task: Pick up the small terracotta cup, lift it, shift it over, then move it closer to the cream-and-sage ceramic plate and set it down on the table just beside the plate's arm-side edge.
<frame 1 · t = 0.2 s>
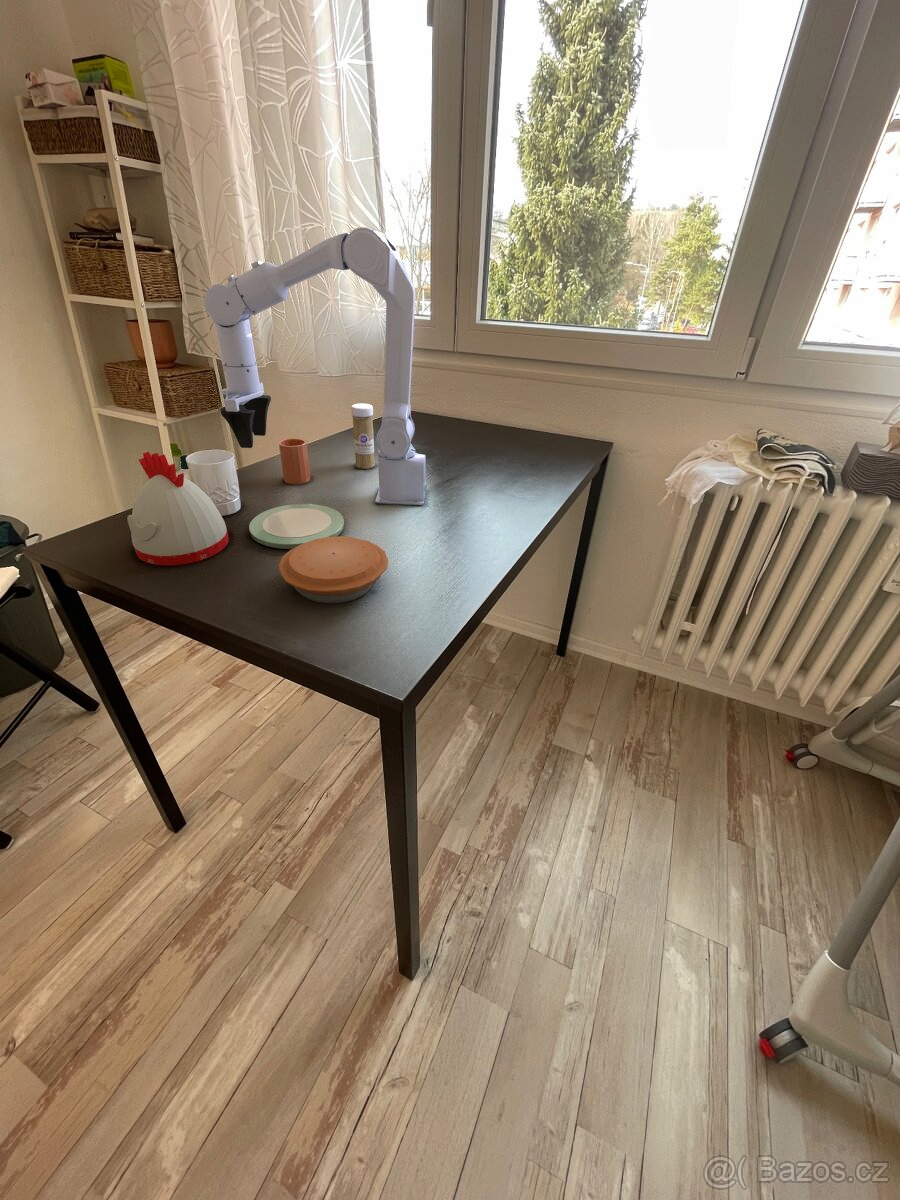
hand: (253, 441, 98), 10 cm above the table, tool pointing down, fingers open, 7 cm apart
white cup: (222, 510, 95), on the table
cup: (297, 479, 109), on the table
sprinkles bottle: (365, 466, 117), on the table
kitchen timer: (184, 545, 84), on the table
pie: (336, 583, 76), on the table
plate: (298, 529, 90), on the table
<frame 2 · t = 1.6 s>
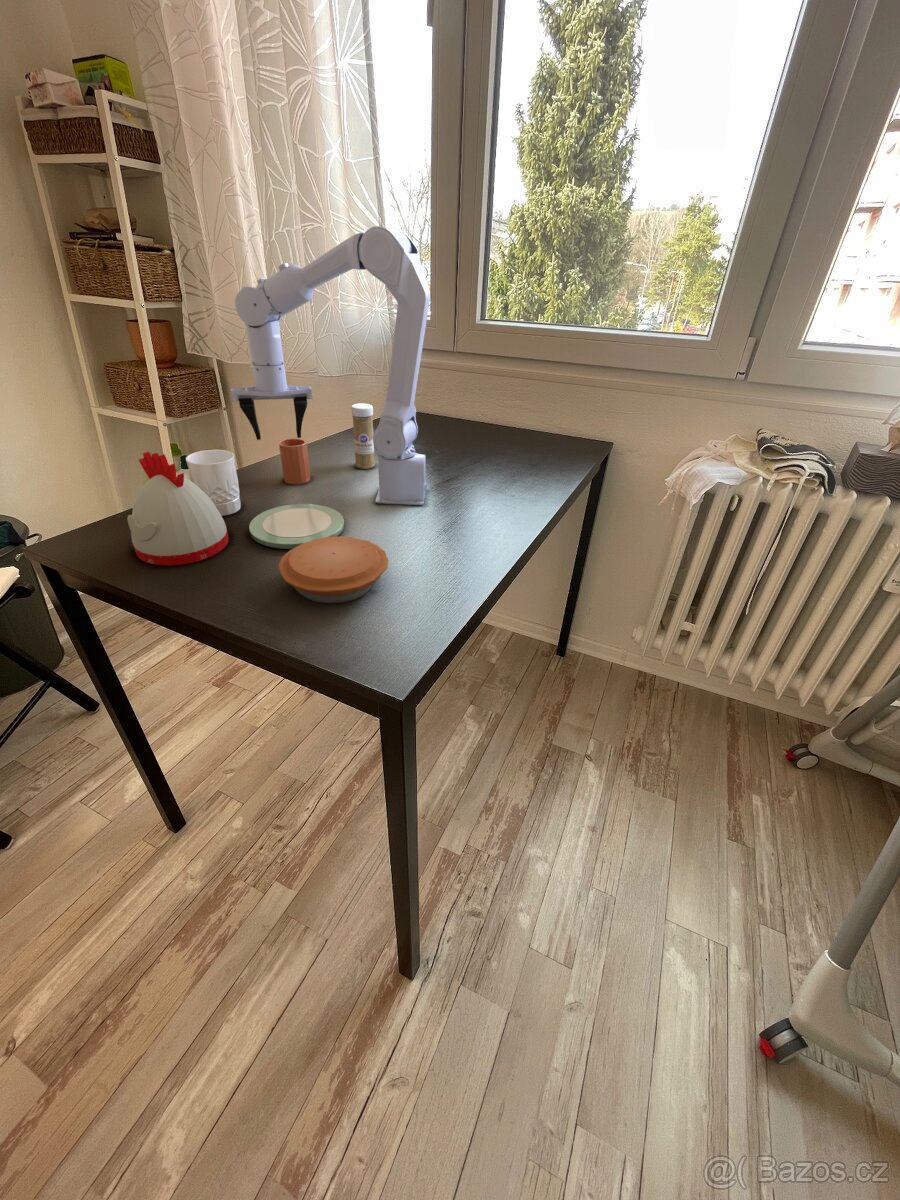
hand: (279, 437, 101), 10 cm above the table, tool pointing down, fingers open, 7 cm apart
nothing on the table moved.
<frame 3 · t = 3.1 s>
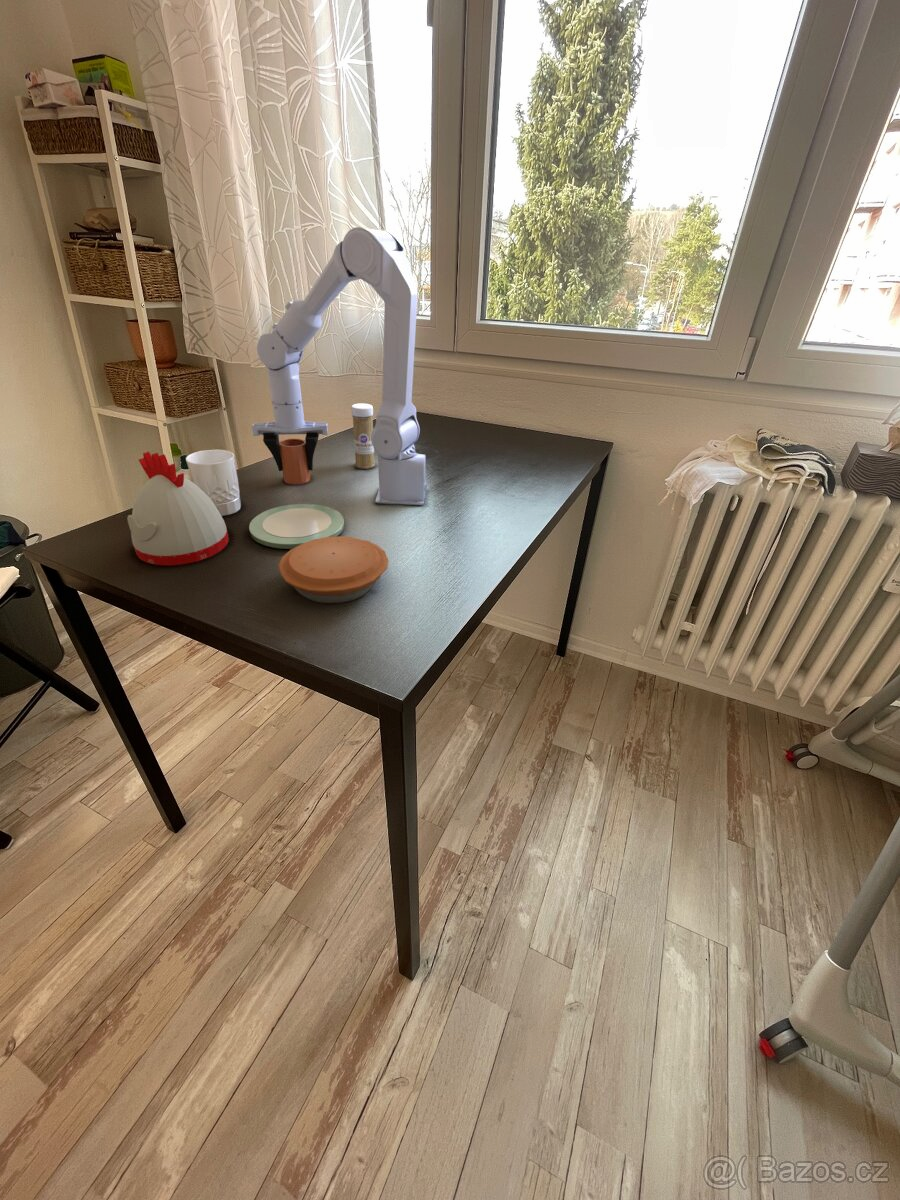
hand: (296, 468, 107), 2 cm above the table, tool pointing down, fingers closed on cup, 5 cm apart
cup: (297, 479, 109), on the table, touching gripper
everything else where it was.
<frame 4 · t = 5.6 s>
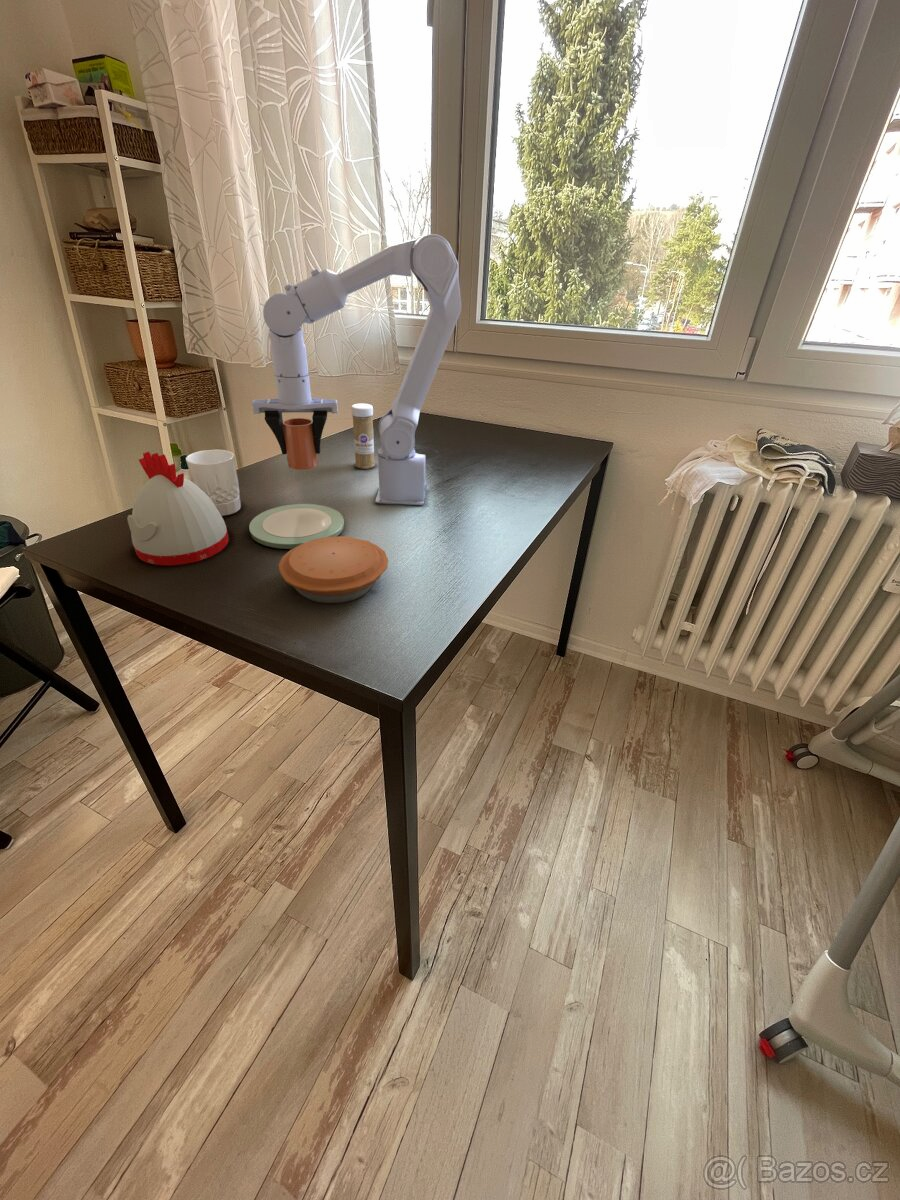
hand: (301, 452, 95), 9 cm above the table, tool pointing down, fingers closed on cup, 5 cm apart
cup: (303, 464, 97), point 7 cm above the table, touching gripper
everything else where it was.
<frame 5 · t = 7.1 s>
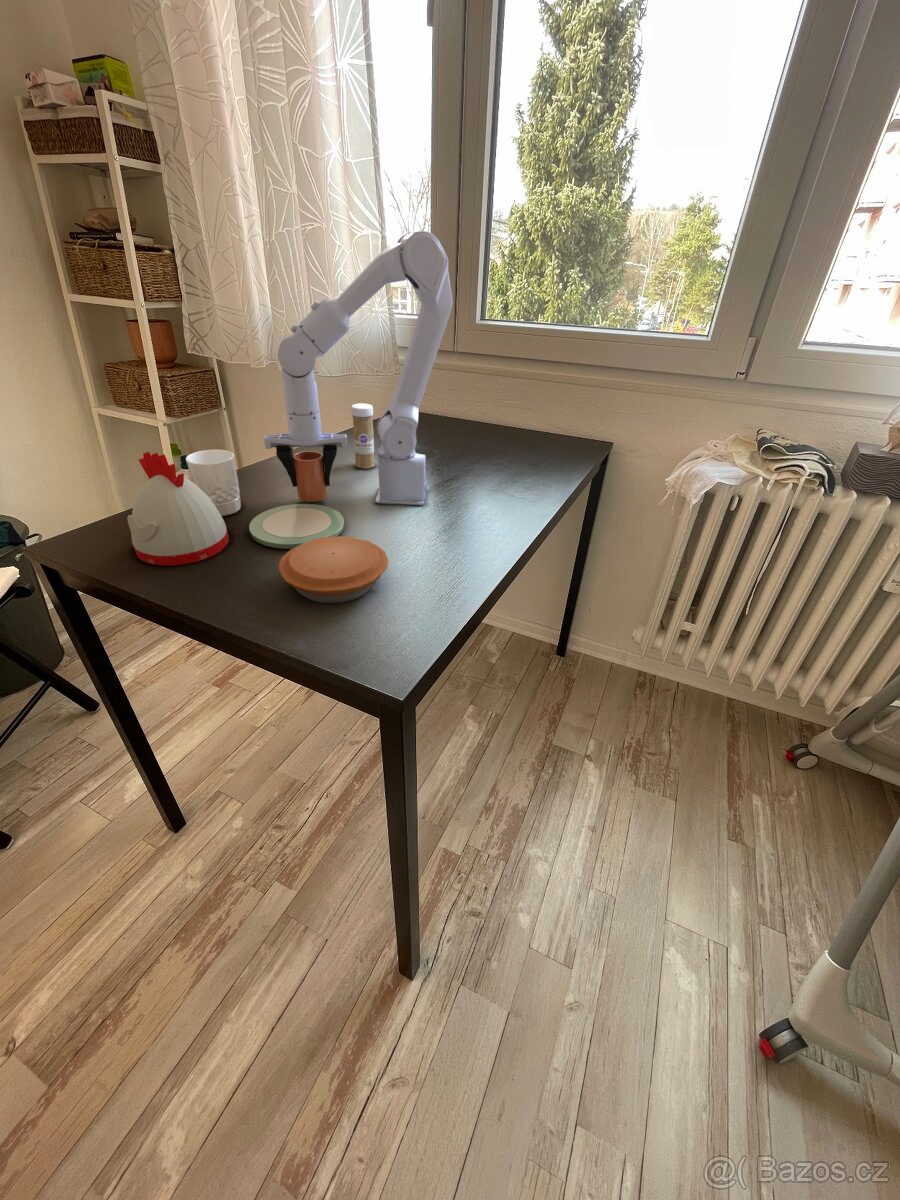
hand: (311, 484, 98), 4 cm above the table, tool pointing down, fingers closed on cup, 5 cm apart
cup: (312, 496, 99), point 1 cm above the table, touching gripper
everything else where it was.
when the fingers open (2 cm above the table, at t = 8.0 s): cup stays where it is, on the table.
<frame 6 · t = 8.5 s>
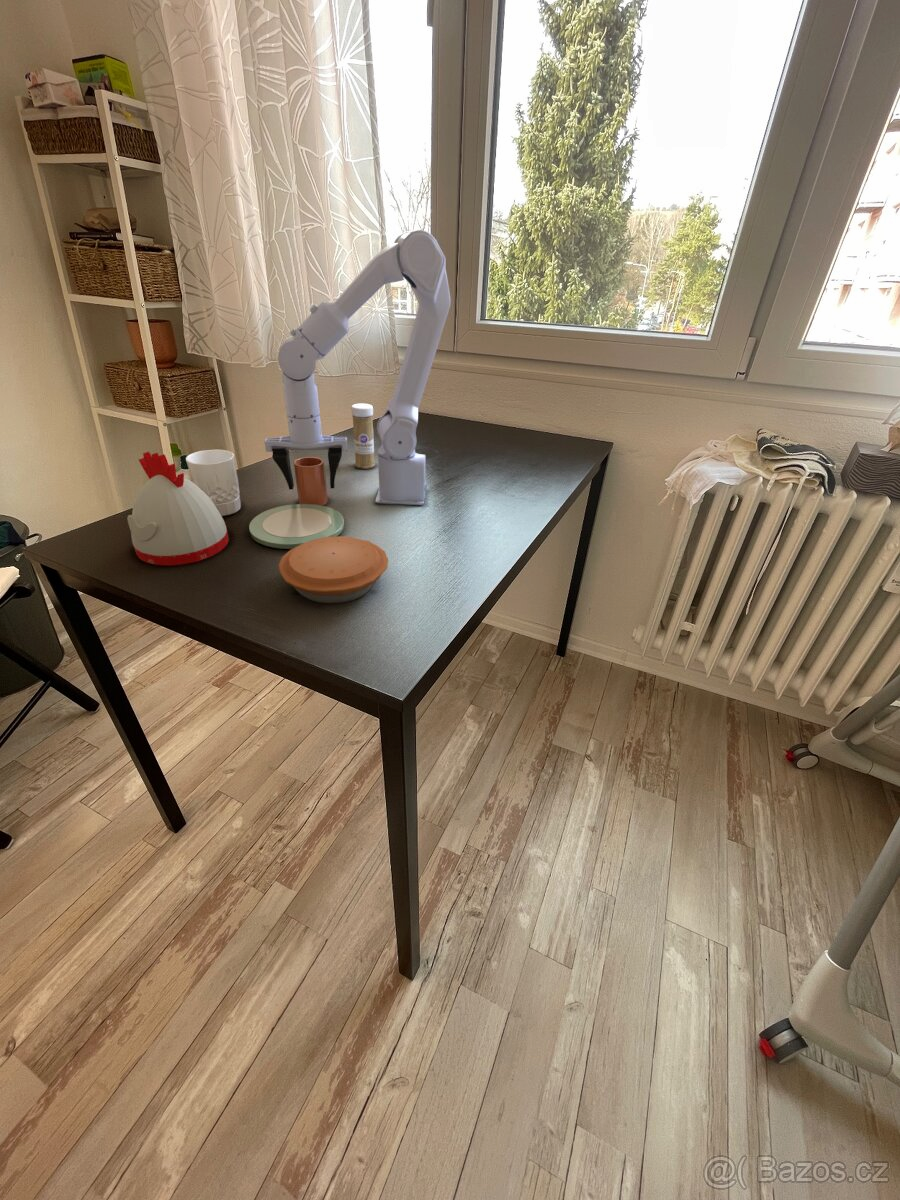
hand: (312, 487, 98), 3 cm above the table, tool pointing down, fingers open, 7 cm apart
cup: (313, 501, 100), on the table
everything else where it was.
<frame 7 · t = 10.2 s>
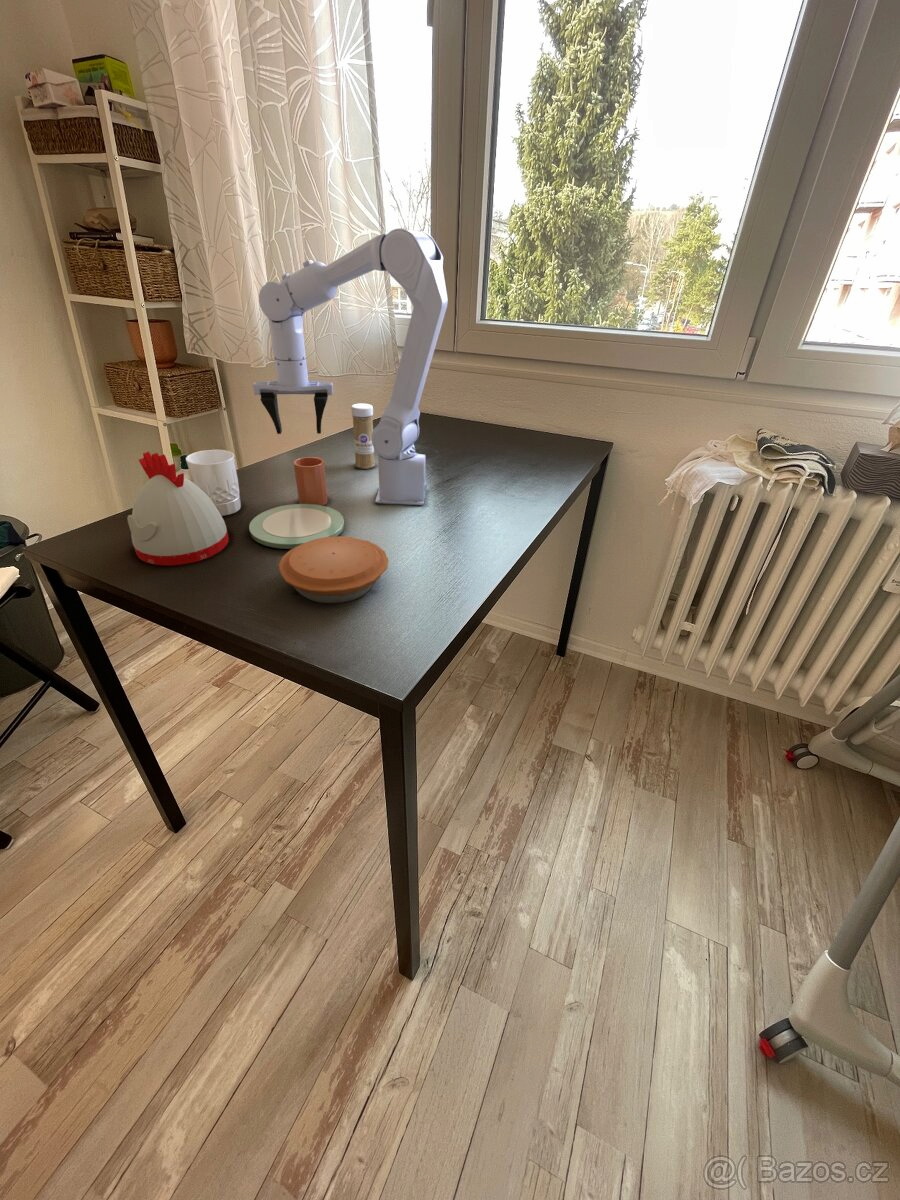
hand: (299, 432, 102), 10 cm above the table, tool pointing down, fingers open, 7 cm apart
nothing on the table moved.
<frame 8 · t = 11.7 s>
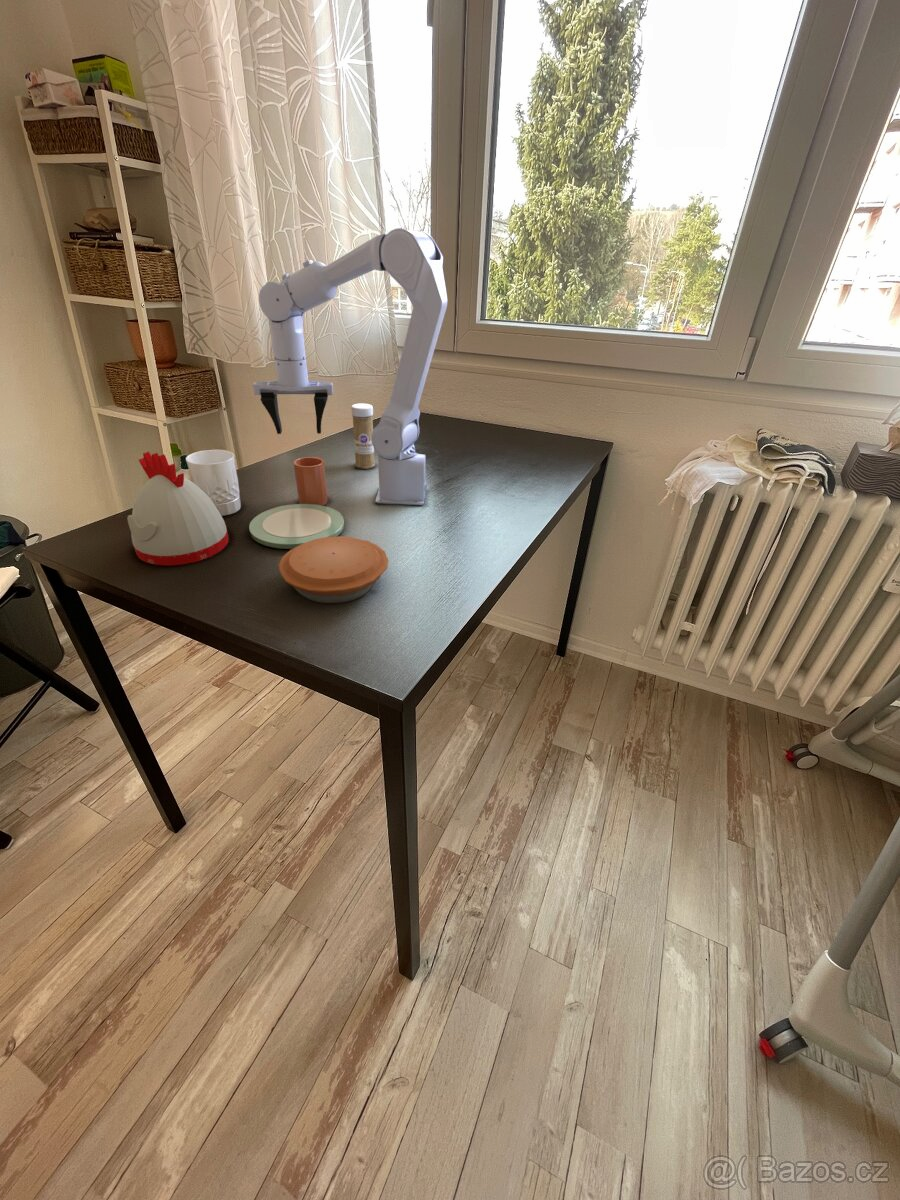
hand: (299, 432, 102), 10 cm above the table, tool pointing down, fingers open, 7 cm apart
nothing on the table moved.
at the end: cup 1.0 cm from the target spot on the table beside the plate, on the table; cup tilted 0°; the gripper is holding nothing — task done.
